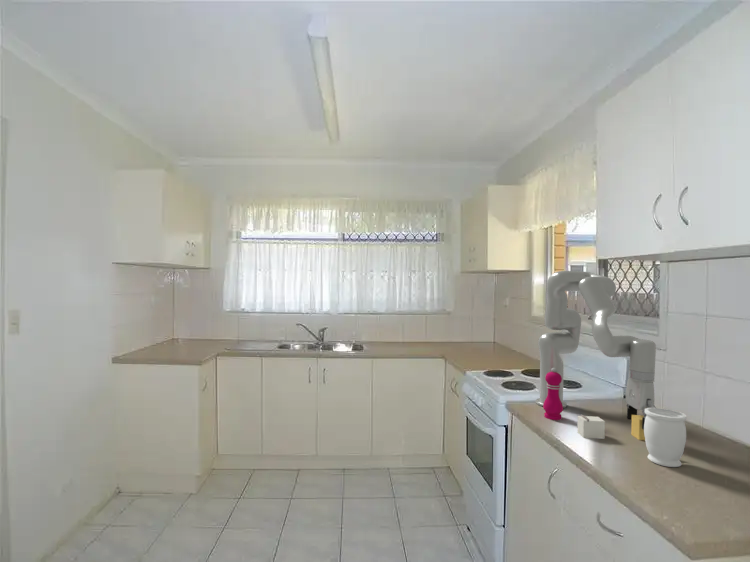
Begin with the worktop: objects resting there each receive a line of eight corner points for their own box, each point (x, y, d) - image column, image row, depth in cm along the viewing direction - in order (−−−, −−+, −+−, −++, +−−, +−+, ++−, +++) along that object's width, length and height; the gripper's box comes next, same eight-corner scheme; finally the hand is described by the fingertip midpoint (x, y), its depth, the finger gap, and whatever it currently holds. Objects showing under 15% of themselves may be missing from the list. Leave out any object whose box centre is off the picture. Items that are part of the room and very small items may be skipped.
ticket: (577, 432, 152) (577, 414, 152) (597, 433, 151) (598, 415, 151) (583, 438, 147) (583, 419, 147) (604, 438, 146) (604, 419, 146)
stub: (631, 434, 150) (631, 414, 150) (643, 435, 150) (643, 415, 150) (639, 440, 145) (639, 419, 145) (651, 440, 145) (651, 419, 145)
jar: (637, 459, 130) (638, 410, 130) (651, 452, 136) (652, 405, 136) (678, 472, 122) (679, 420, 122) (690, 463, 128) (691, 413, 128)
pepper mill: (560, 423, 163) (561, 370, 163) (540, 419, 168) (541, 368, 168) (564, 418, 169) (565, 367, 169) (545, 414, 173) (546, 365, 173)
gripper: (617, 369, 157) (615, 415, 157) (644, 381, 140) (641, 433, 140) (639, 370, 156) (637, 416, 157) (668, 382, 139) (665, 434, 140)
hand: (639, 424), depth 148 cm, fingers open, 9 cm apart
